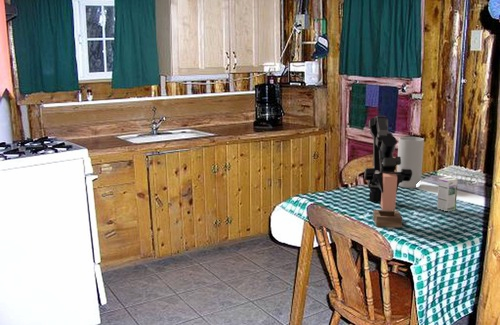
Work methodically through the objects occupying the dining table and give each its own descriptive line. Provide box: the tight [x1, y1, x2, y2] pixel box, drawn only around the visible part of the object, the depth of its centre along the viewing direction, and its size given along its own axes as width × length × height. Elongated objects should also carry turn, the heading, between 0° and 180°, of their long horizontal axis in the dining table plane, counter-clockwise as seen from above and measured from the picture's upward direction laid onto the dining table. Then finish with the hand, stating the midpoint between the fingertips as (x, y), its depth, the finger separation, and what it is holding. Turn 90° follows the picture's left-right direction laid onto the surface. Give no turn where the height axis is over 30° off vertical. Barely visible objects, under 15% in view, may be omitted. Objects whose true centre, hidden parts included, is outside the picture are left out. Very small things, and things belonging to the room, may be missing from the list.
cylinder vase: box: [396, 136, 425, 189], centre depth 271 cm, size 12×12×25 cm
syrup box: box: [436, 176, 459, 212], centre depth 230 cm, size 6×6×14 cm
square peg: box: [380, 173, 398, 210], centre depth 211 cm, size 5×5×14 cm
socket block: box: [372, 209, 403, 228], centre depth 214 cm, size 10×10×4 cm
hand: (389, 192), depth 210 cm, fingers closed on square peg, 5 cm apart
